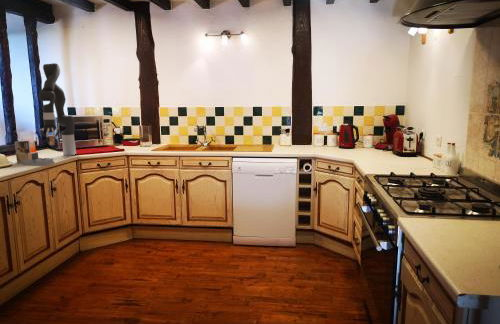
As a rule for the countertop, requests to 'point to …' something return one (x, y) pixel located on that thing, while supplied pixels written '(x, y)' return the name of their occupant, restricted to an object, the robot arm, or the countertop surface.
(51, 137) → the dark brown block
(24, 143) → the coffee box
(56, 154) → the countertop surface
